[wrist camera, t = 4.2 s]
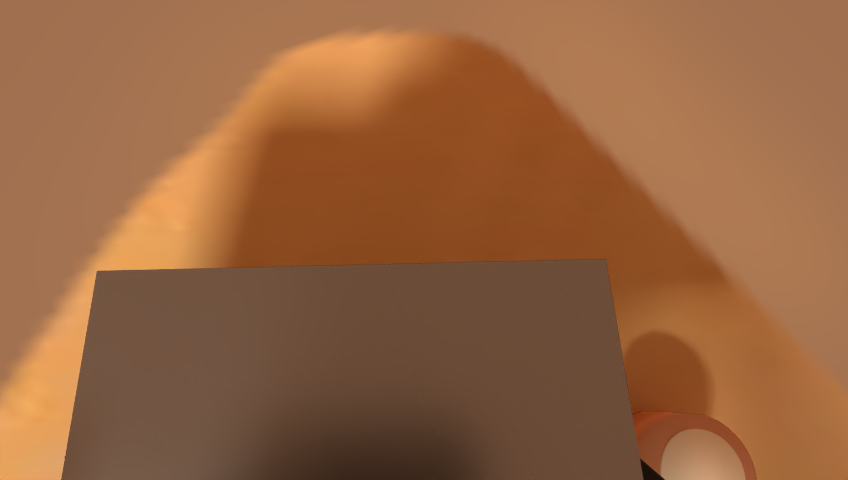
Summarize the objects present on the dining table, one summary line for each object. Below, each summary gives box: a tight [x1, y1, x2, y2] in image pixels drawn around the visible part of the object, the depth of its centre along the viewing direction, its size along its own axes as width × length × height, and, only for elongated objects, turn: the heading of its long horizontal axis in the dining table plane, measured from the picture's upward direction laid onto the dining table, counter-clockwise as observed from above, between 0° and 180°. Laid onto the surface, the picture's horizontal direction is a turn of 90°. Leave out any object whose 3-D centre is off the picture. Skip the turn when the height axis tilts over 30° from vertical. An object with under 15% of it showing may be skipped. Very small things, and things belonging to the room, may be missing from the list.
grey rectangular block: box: [61, 259, 643, 480], centre depth 10 cm, size 6×6×11 cm
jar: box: [632, 411, 757, 480], centre depth 14 cm, size 3×3×2 cm
